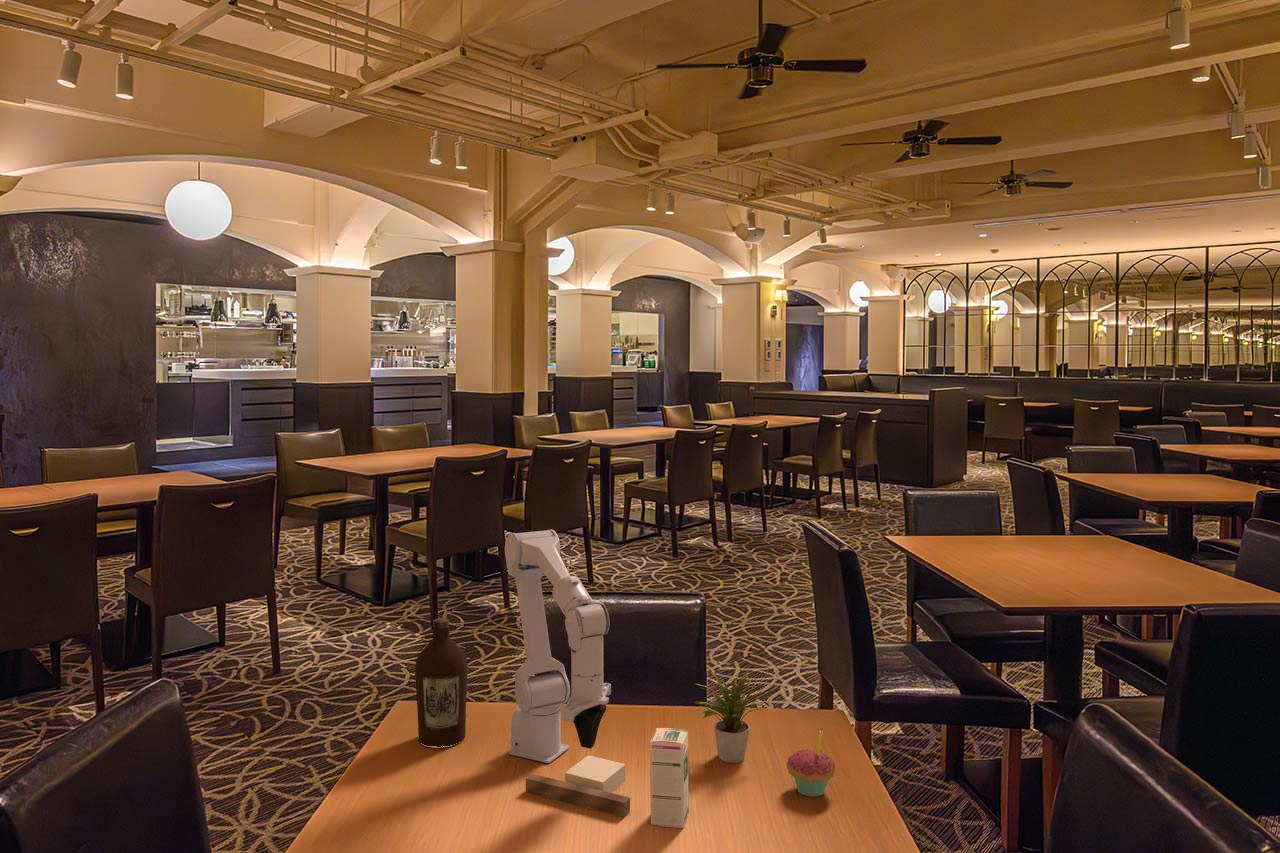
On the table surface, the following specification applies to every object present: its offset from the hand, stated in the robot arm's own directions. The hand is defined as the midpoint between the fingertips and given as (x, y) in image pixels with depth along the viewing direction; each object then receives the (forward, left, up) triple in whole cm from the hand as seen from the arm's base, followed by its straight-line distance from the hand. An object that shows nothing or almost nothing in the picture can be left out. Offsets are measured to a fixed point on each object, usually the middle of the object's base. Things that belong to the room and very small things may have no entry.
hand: (587, 746), depth 149 cm
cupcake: (+36, +18, -9) cm, 41 cm away
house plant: (+18, +26, -9) cm, 33 cm away
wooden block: (0, +3, -9) cm, 9 cm away
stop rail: (0, -4, -8) cm, 9 cm away
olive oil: (-38, +6, -9) cm, 39 cm away
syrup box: (+17, -2, -9) cm, 19 cm away
